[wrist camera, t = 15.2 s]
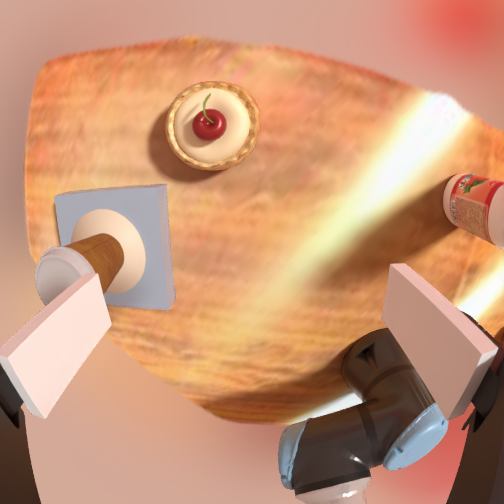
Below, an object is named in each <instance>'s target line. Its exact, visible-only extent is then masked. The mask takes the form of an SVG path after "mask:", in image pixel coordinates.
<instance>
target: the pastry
mask: <svg viewBox="0 0 504 504" xmlns="http://www.w3.org/2000/svg"><path fill="white" fill-rule="evenodd" d="M260 126H261V120H260V109H259V107H258V105H257V103H256V101H255V100H254V98H253V97H252V96H251V95H250V94H249V93H248V92H247V91H246V90H245V89H243V88H242V87H240V86H238V85H235V84H232V83H227V82H221V81H206V82H200V83H197V84H194V85H192V86H190V87H188V88H186V89H185V90H184V91H183V92H181V93H180V94H179V95H178V96H177V97H176V98H175V99H174V101H173V102H172V104H171V106H170V108H169V110H168V113H167V116H166V120H165V134H166V139H167V142H168V144H169V146H170V148H171V150H172V152H173V153H174V154H175V155H176V156H177V157H178V158H179V159H180V160H181V161H182V162H183V163H185V164H187V165H189V166H191V167H193V168H195V169H200V170H209V171H215V170H224V169H228V168H231V167H233V166H236V165H238V164H240V163H241V162H242V161H243V160H244V159H245V158H246V157H247V156H248V155H249V154H250V153H251V152H252V151H253V149H254V147H255V145H256V143H257V140H258V137H259V132H260Z"/></svg>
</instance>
